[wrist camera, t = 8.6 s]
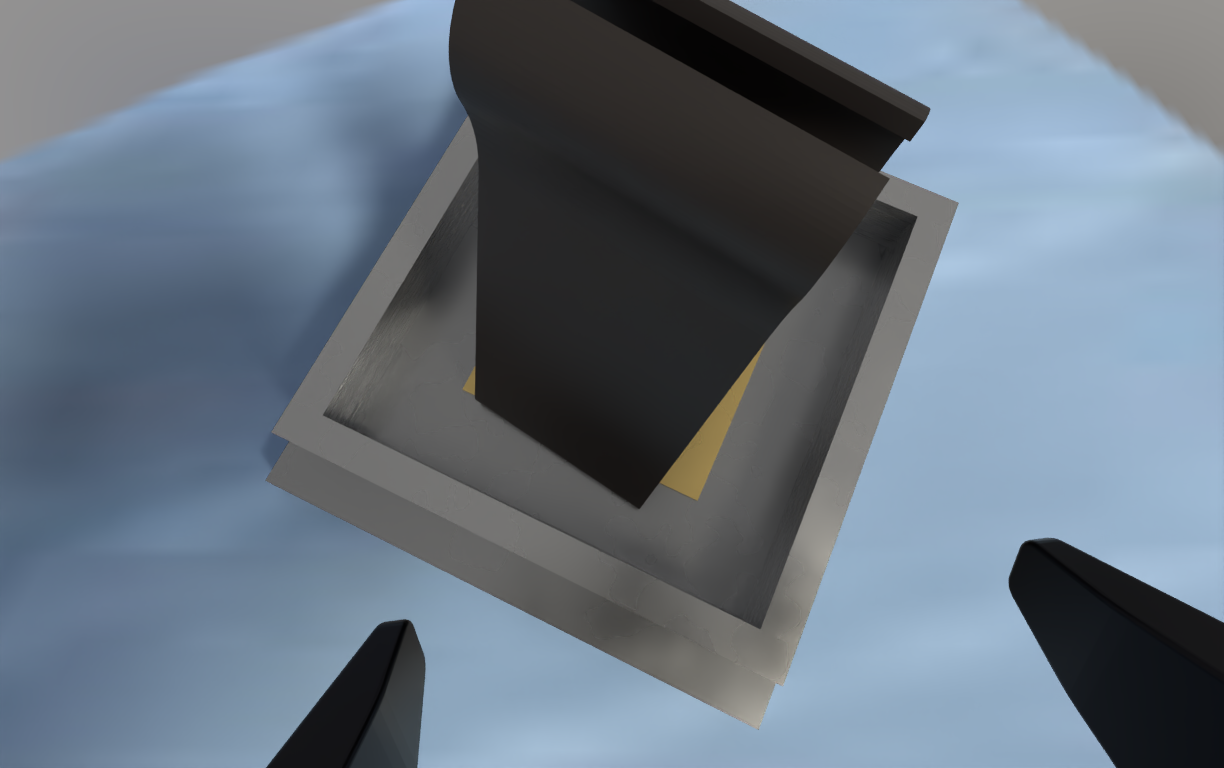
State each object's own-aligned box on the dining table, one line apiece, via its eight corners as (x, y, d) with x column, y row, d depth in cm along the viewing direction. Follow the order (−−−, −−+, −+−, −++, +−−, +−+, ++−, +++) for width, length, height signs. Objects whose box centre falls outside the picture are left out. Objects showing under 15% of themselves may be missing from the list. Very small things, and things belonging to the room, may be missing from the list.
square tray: (749, 718, 17) (779, 756, 14) (282, 483, 19) (224, 474, 16) (935, 219, 21) (988, 170, 18) (539, 56, 23) (531, -14, 20)
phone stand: (634, 188, 20) (680, -276, 9) (786, 279, 20) (1061, -91, 8) (476, 401, 18) (259, 176, 7) (637, 511, 18) (709, 473, 6)
